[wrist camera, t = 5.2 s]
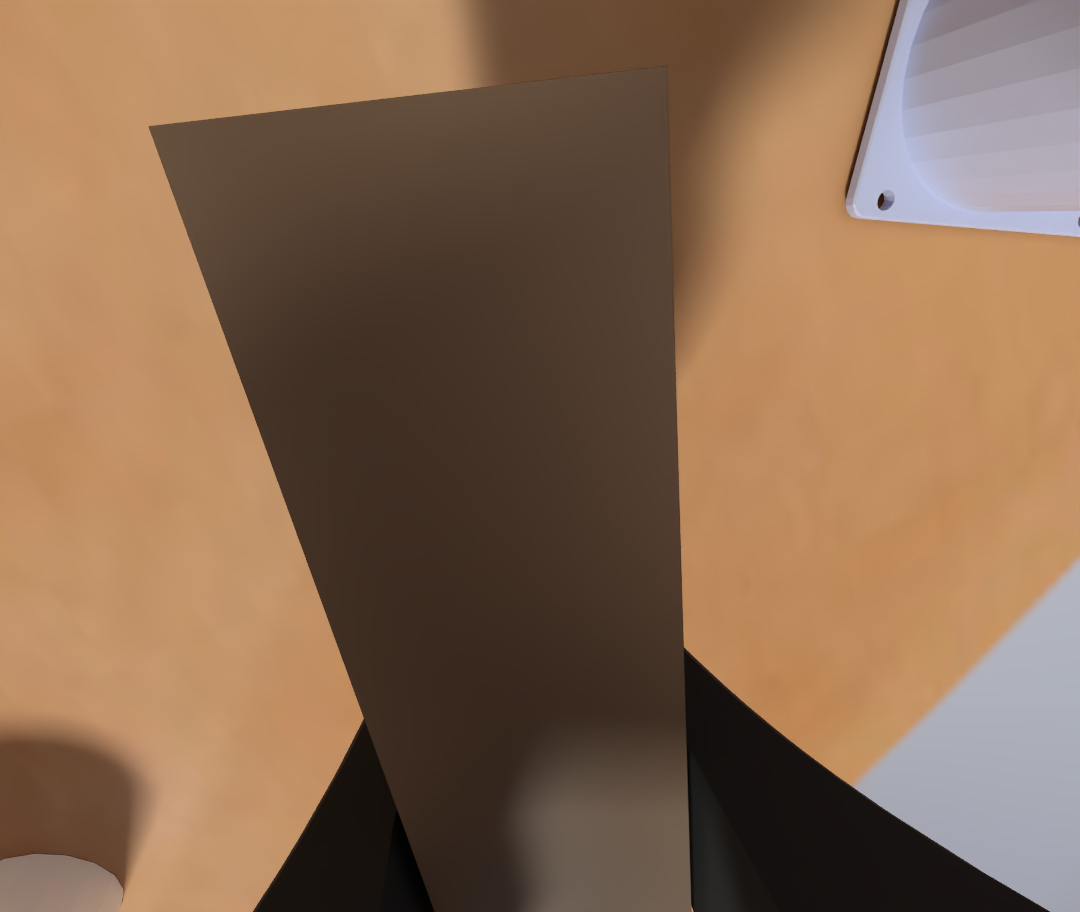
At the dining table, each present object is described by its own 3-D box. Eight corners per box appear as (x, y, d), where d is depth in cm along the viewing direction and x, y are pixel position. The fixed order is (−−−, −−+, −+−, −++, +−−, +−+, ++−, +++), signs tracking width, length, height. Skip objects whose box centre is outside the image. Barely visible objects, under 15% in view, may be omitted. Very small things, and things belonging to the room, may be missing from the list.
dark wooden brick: (532, 177, 9) (665, 65, 3) (602, 759, 14) (696, 1086, 9) (347, 202, 8) (149, 126, 3) (492, 784, 14) (517, 1138, 8)
